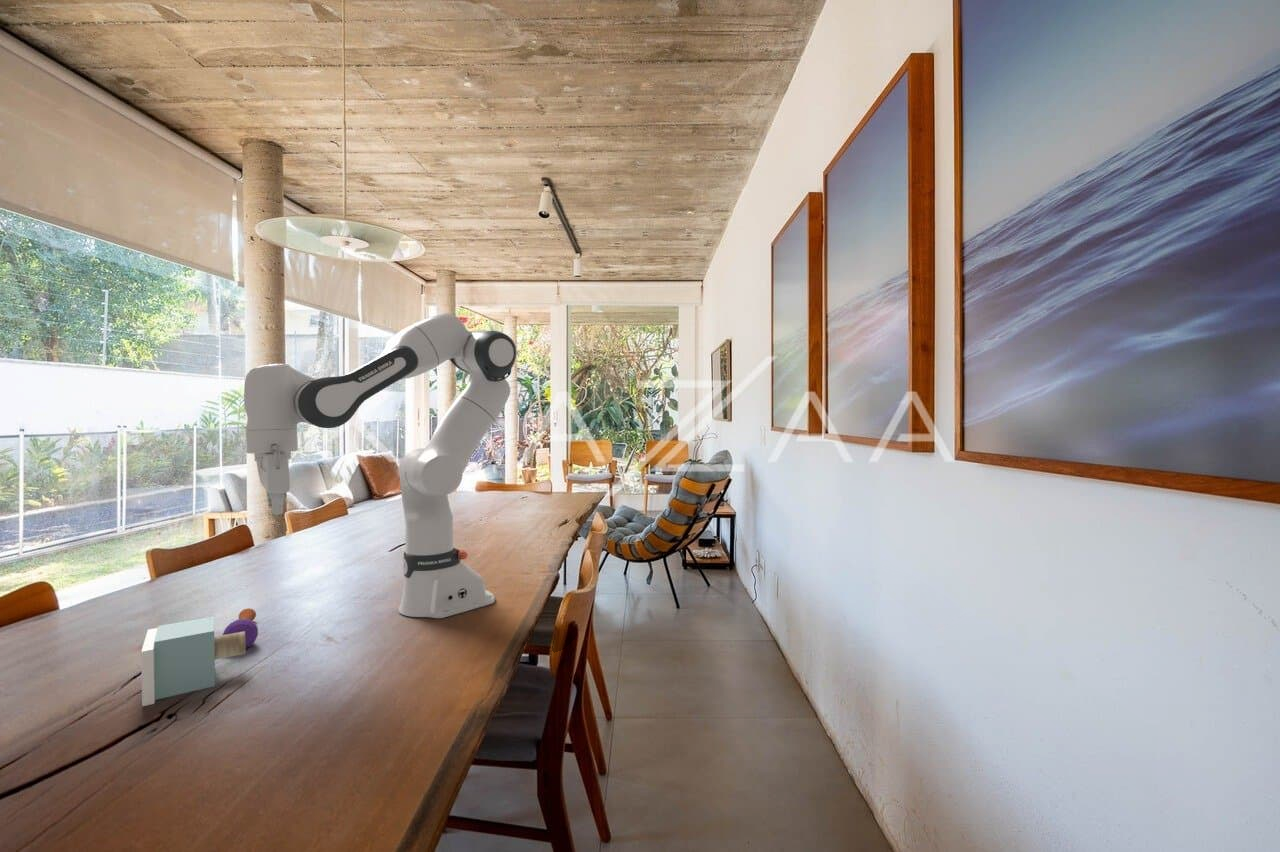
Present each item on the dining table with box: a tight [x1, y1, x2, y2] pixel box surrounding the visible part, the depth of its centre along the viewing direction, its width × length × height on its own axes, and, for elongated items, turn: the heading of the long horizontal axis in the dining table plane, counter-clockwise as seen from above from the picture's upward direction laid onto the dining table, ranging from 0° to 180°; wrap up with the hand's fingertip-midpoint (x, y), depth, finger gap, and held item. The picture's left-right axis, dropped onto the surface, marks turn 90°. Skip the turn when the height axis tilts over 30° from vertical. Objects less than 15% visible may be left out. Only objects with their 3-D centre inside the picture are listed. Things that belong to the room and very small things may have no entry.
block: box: [154, 616, 216, 701], centre depth 100 cm, size 8×9×10 cm
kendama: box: [222, 607, 259, 649], centre depth 122 cm, size 6×6×20 cm
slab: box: [140, 627, 158, 707], centre depth 98 cm, size 2×12×9 cm, turn 37°
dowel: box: [214, 631, 247, 660], centre depth 103 cm, size 10×4×4 cm, turn 127°
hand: (275, 510), depth 116 cm, fingers open, 8 cm apart
